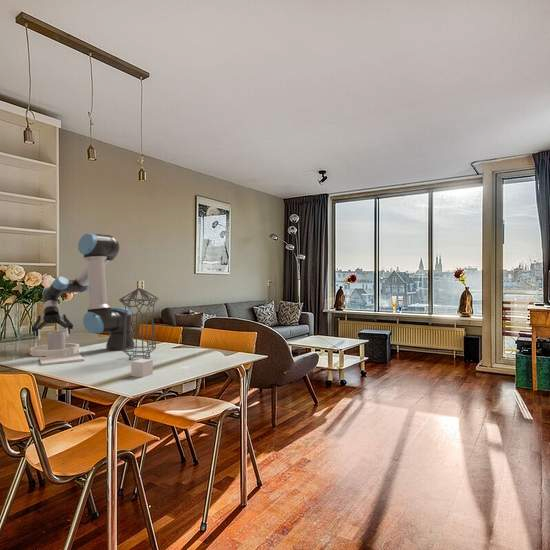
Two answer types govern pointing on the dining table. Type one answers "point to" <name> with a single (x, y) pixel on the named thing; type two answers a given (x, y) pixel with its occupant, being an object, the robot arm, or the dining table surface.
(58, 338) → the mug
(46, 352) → the white plate
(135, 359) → the geometric lantern
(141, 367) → the pale pink cube
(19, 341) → the dining table surface
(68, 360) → the mat
